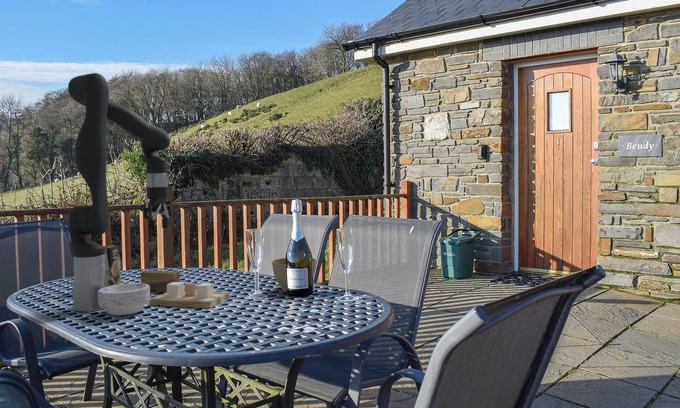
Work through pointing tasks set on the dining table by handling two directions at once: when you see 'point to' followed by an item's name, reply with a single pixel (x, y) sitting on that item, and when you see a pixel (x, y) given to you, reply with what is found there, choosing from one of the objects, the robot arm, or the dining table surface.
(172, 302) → the display stand
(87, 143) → the robot arm
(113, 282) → the coffee box
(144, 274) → the walnut bar
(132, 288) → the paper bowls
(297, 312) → the dining table surface
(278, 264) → the planter bowl
